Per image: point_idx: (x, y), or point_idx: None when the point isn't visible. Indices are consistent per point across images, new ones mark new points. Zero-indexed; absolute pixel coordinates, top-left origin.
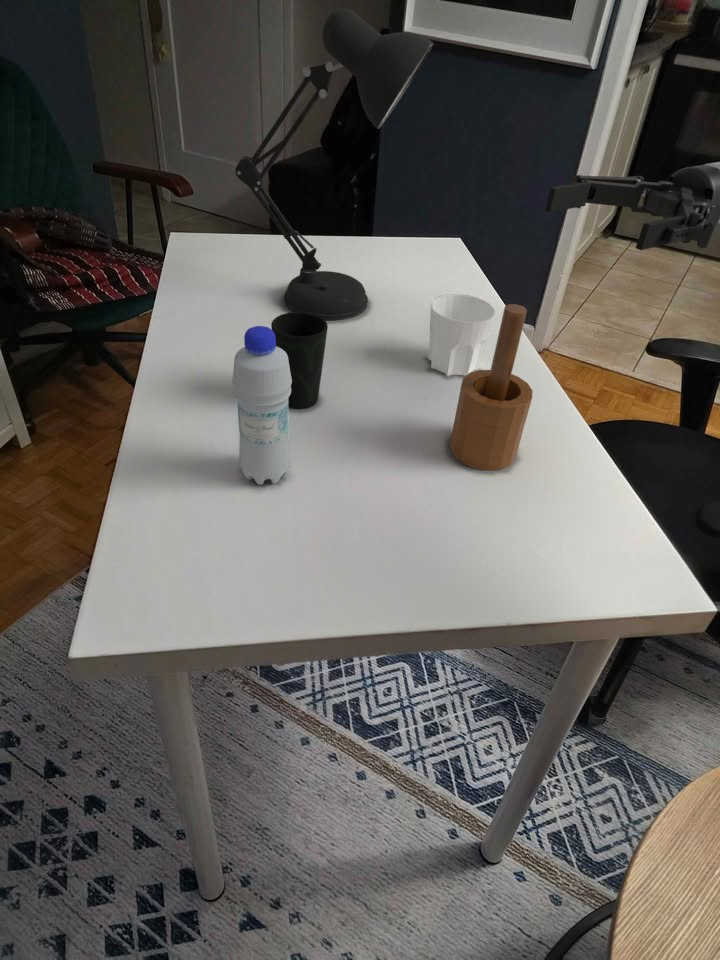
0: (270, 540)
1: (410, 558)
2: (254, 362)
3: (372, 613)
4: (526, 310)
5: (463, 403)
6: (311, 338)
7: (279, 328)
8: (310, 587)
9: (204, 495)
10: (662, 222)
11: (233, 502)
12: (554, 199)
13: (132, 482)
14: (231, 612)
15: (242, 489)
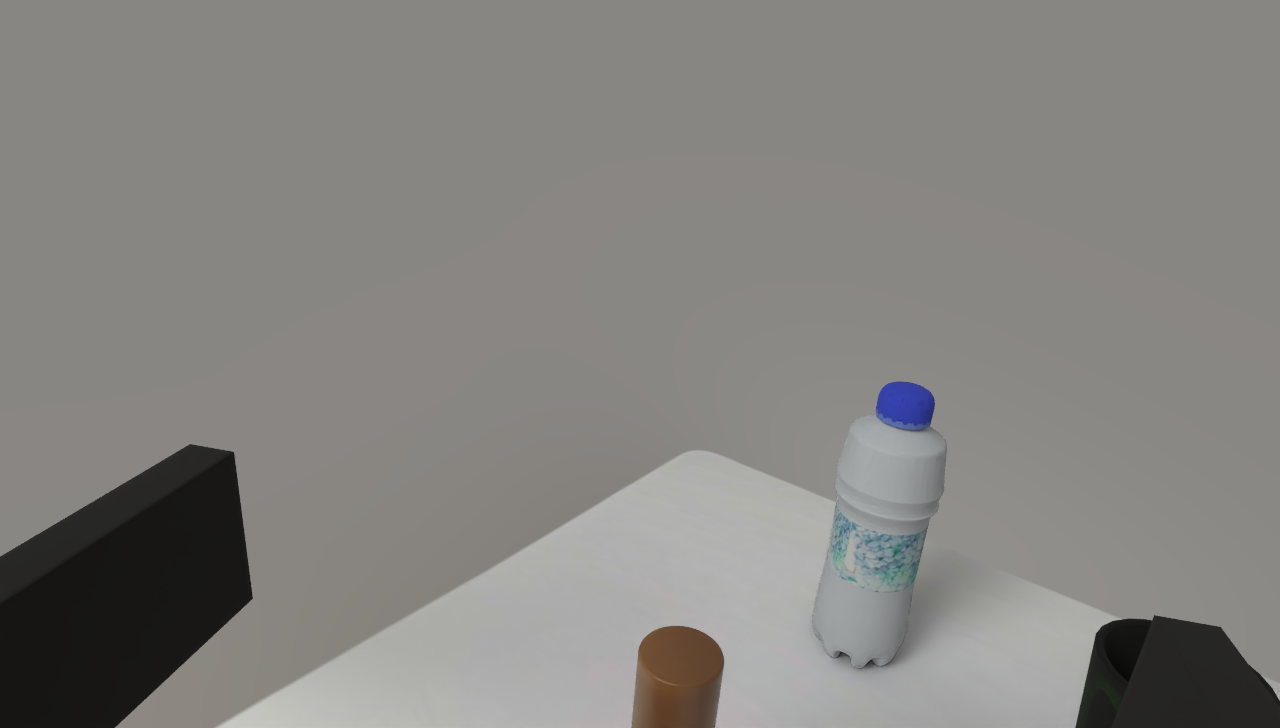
0: (709, 575)
1: (535, 653)
2: (874, 414)
3: (518, 572)
4: (645, 666)
5: None
6: (1096, 654)
7: None
8: (607, 559)
9: None
10: (59, 522)
11: (810, 587)
12: (1131, 708)
13: None
14: (643, 508)
15: None
